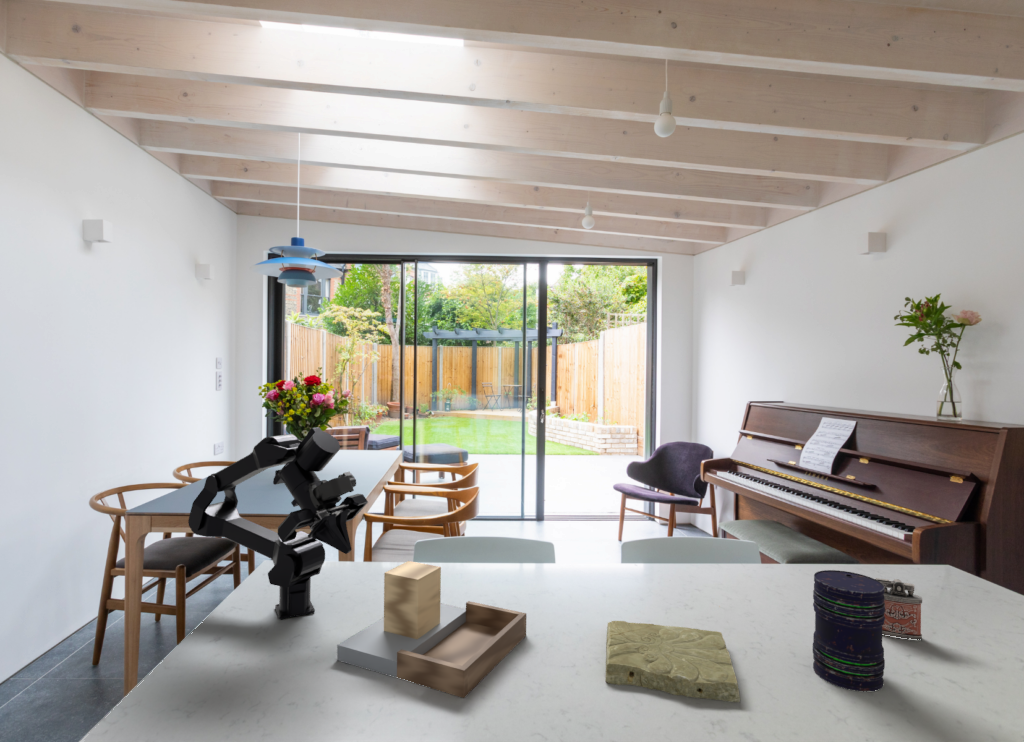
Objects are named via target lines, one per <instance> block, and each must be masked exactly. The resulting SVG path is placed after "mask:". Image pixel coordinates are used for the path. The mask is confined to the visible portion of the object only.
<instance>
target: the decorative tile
mask: <svg viewBox="0 0 1024 742" xmlns="http://www.w3.org/2000/svg"><path fill="white" fill-rule="evenodd" d="M606 629H607V630H606V642H605V644H606V646H605V650H606V651H605V653H606V654H605V676H604V677H605V679H604V680H605V682H606V683H608V684H611V685H618V686H628V685H630V686H636V687H642V688H645V689H649V690H655V691H656V690H657V691H662V692H664V693H668V694H670V695H672V696H673V695H674V696H684V697H686V698H695V699H707V700H716V701H719V700H720V701H724V702H732V703H741V702H740V701H741V698H740V689H739V686H738V685H739V684H738V679H737V677H736V673H735V669H734V667H733V663H732V659H731V655H730V652H729V651H728V648H727V645H726V641H725V639H724V637H723V633H722V632H720V631H717V630H714V631H713V630H706V629H705V630H704V629H700V628H692V627H687V626H673V625H660V624H654V623H644V622H643V623H641V622H640V623H638V622H637V623H636V622H628V621H625V620H611V621H609V622H607V627H606Z"/></svg>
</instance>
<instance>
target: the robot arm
mask: <svg viewBox="0 0 1024 742" xmlns="http://www.w3.org/2000/svg"><path fill="white" fill-rule="evenodd" d="M340 449H341V444H340V442H339V440H338V439H337V438H336V437H335V436H333V435H331V434H330V433H328V432H326V431H323V430H322V429H321V428H320V427H311V428H310V429H309V431H308V432H307V434H306V436H305V437H304V438H303V439H302V440H300V439H299V438H298V437H297V436H296V435H294V434H293V433H288V434H281V435H273V436H266V437H264V438H263V439H261V440H260V441H259V442H258V443H257V444H255V445H254V446H253V448H252V451H251V452H250V453H249V454H248V455H246V456H245V457H242V458H240V459H239V460H237V461H235V462H233V463H232V464H229V465H228V466H227V467H224V468H223V469H221V470H219V471H217V472H216V473H211V474H210V475H208V476H207V477H206V479H205V482H204V486H203V488H202V490H201V491H200V492H199V494H198V495H197V496H196V498H195V499H194V500H193V502H192V504H191V509H190V513H189V516H188V527H189V528H190V530H191V532H192V533H194V535H196V536H201V537H205V538H225V539H227V540H229V541H231V542H234V543H235V544H238V545H241V546H243V547H245V548H246V549H249V550H251V551H253V552H255V553H258V554H259V555H263V556H264V557H266V558H269V559H271V560H272V562H273V565H274V566H273V567H272V568H271V569H270V570H269V571H267V578H268V582H269V585H272V586H277V587H279V595H278V597H279V598H278V599H279V600H278V601H279V603H277V604H275V610H276V613H277V614H276V615H277V616H278V620H279V619H280V620H282V619H288V618H293V617H299V616H304V615H308V614H314V613H315V611H316V609H315V607H314V605H313V604H312V601H311V587H312V586H311V580H312V579H311V578H312V577H314V576H316V575H319V574H321V570H322V566H323V565H324V564H325V560H326V550H325V548H324V544H327V545H328V546H330V547H332V548H334V549H336V550H337V551H339V552H342V553H343V554H345V555H347V554H350V552H352V551H353V550H352V549H353V548H352V545H351V544H352V543H351V540H350V536H349V532H348V527H347V525H348V524H347V522H350V521H352V520H353V519H354V518H356V516H358V514H359V513H360V512H362V510H363V509H364V508H365V507H366V505H368V503H369V501H368V500H367V498H366V497H365V495H364V494H362V493H356V494H352V495H348V496H346V497H345V498H344V499H343V500H342V496H344V495H346V494H348V493H352V492H354V491H355V490H354V488H355V487H356V486H357V479H356V478H355V476H354V475H353V474H352V473H351V472H350V471H345V472H343V473H342V474H338V477H335V478H332V479H330V480H326V479H322V480H320V477H318V475H317V474H316V472H322V471H323V470H324V468H325V467H326V466H327V465H328V464H329V462H331V461H332V459H333V458H334V457H335V455H336V454H337V453H338V452H339V451H340ZM283 465H284V466H283ZM278 466H283V467H282V468H281V469H277V470H275V471H274V472H275V473H274V476H273V481H272V483H273V485H275V486H276V485H279V484H280V485H281V484H284V486H286V488H287V490H288V492H289V493H290V495H291V496H292V497H293V500H292V501H291V505H292V507H294V508H295V507H299V508H300V509H298V510H294V511H291V512H289V513H288V515H287V516H286V517H285V519H283V521H282V522H281V523H280V525H278V527H277V531H275V530H272V529H270V528H268V527H264V526H262V525H260V524H257V523H255V522H253V521H251V520H248V519H246V518H244V517H242V516H241V515H240V513H239V510H238V508H237V507H238V502H239V501H238V496H237V493H236V487H237V485H240V484H241V483H243V482H245V481H247V480H249V479H251V478H253V477H255V476H257V475H258V474H260V473H263V472H264V471H266V470H267V469H270V468H274V467H278ZM220 492H224V495H225V496H224V499H223V501H220V502H216V503H212V502H213V501H214V500H215V498H216V497H217V495H218V493H220ZM341 500H342V502H341V503H340V501H341ZM337 503H340V504H339V505H337ZM305 527H309V531H310V532H309V533H307V532H305V531H302V530H300V531H297V530H299V529H302V528H305ZM323 543H324V544H323Z"/></svg>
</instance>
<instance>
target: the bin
mask: <svg viewBox="0 0 1024 742" xmlns="http://www.w3.org/2000/svg"><path fill="white" fill-rule="evenodd" d="M465 608H466V622H465V623H463V624H462V625H461V626H460V627H458V628H457V629H456V630H454V631H453V632H452V633H450V634H449V635H448V636H447V637H445V638H444V639H443V640H441V641H440V642H439V643H437V644H436V645H435V646H434V647H432V648H431V649H430V650H428V651H427V652H426V653H424V654H423V655H420V654H417V653H413V652H409V651H406V650H402V649H401V650H399V651H398V652H397V677H398V678H401V679H400V680H402V679H405V680H408V681H411V682H410V683H412V682H414V683H413V684H415V683H416V685H419V684H420V685H419V686H422V685H424V686H423V687H425V686H427V687H426V688H429V687H430V688H429V689H433V690H435V689H436V690H435V691H439V690H440V691H439V692H442V693H445V692H446V694H450V695H451V696H455V697H460V698H462V699H465V698H466V697H467V696H468V695H469V694H470V693H471V692H472V691H473V690H474V688H476V687H477V686H478V685H479V684H480V683H481V681H483V680H484V679H485V678H486V676H488V675H489V674H490V673H491V672H492V671H493V669H495V667H497V665H499V663H501V661H503V659H505V657H507V656H508V655H509V654H510V653H511V651H513V650H514V648H516V647H517V646H518V645H519V644H520V642H521V641H522V640H524V639H525V638H526V636H527V613H526V612H521V611H516V610H513V609H508V608H503V607H499V606H494V605H489V604H484V603H479V602H474V601H470V600H468V601H466V603H465ZM398 678H397V679H398ZM405 680H404V681H405ZM408 681H407V682H408Z"/></svg>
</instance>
